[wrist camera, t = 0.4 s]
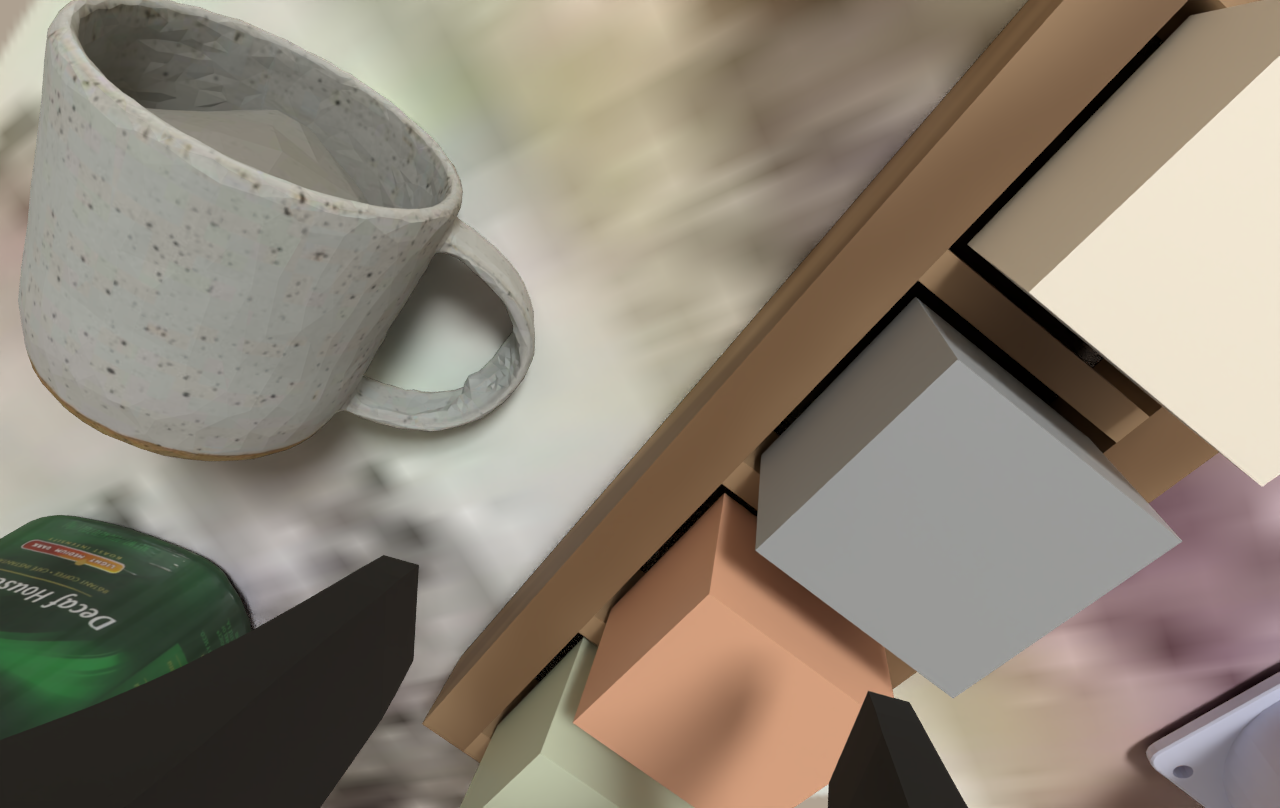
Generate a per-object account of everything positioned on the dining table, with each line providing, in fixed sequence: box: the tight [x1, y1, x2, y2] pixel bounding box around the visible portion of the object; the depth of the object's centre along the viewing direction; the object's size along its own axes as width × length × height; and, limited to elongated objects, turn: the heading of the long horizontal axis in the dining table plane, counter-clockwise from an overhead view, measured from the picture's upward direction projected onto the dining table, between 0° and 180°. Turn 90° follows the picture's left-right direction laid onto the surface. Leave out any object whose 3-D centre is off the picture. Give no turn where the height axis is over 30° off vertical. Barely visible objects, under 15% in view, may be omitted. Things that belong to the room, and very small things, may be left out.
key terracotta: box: [573, 493, 894, 808], centre depth 17 cm, size 5×5×4 cm
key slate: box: [755, 297, 1182, 698], centre depth 14 cm, size 5×5×4 cm
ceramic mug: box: [18, 0, 535, 461], centre depth 16 cm, size 11×8×8 cm
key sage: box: [460, 637, 694, 808], centre depth 20 cm, size 5×5×4 cm
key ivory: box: [967, 0, 1280, 486], centre depth 12 cm, size 5×5×4 cm
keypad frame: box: [422, 0, 1261, 763], centre depth 19 cm, size 9×27×3 cm, turn 144°
